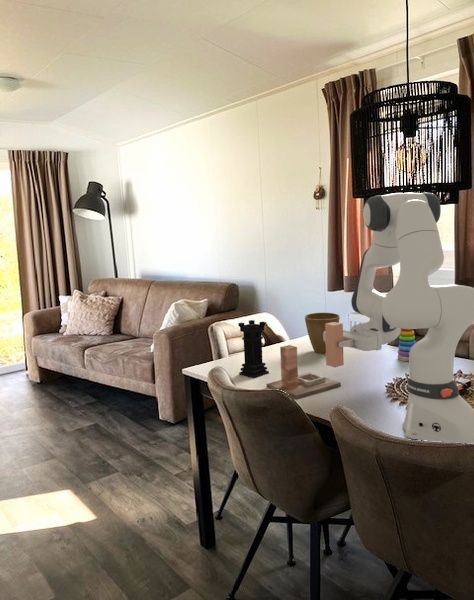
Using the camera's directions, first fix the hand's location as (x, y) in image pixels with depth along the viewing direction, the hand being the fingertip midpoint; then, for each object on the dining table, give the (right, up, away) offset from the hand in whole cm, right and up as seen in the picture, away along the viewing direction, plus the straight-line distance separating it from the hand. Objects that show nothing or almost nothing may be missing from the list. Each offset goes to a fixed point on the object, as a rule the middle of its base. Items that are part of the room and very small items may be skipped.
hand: (332, 343), depth 171 cm
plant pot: (+6, -8, +55) cm, 56 cm away
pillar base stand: (-8, -16, +10) cm, 21 cm away
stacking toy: (+37, -10, +37) cm, 54 cm away
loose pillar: (+1, -7, +2) cm, 8 cm away
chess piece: (-25, -14, +28) cm, 40 cm away
